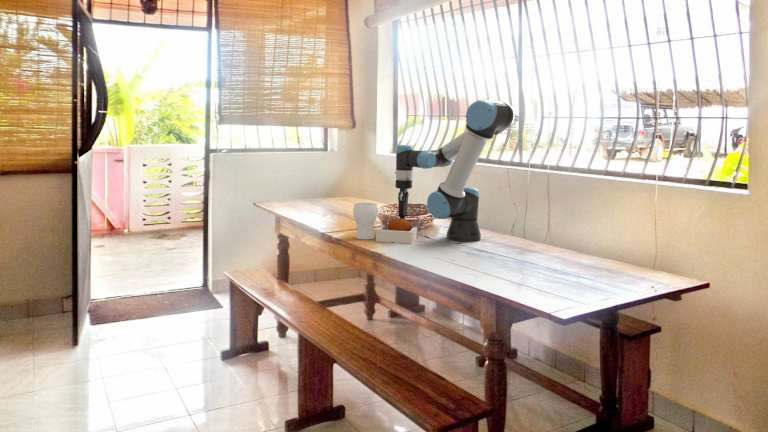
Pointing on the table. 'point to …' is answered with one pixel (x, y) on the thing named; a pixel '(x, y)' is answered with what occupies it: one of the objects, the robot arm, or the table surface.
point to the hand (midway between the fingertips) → (402, 230)
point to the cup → (365, 219)
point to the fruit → (399, 225)
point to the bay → (396, 234)
